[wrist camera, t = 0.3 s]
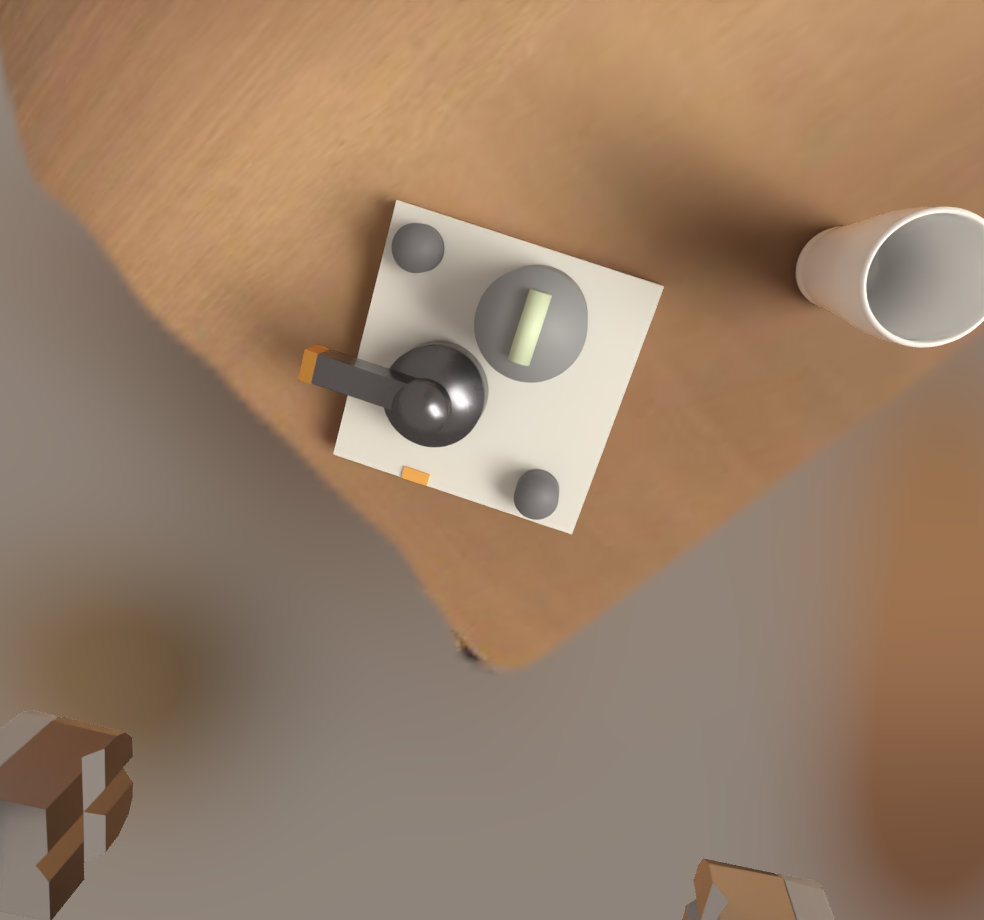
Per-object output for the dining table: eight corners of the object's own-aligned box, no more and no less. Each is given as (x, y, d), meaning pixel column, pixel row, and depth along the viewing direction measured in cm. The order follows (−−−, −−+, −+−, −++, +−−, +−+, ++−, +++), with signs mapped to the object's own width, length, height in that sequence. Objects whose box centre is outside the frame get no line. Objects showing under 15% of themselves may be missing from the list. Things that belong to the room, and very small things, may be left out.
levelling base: (403, 201, 52) (365, 193, 43) (661, 284, 51) (676, 294, 42) (341, 447, 58) (296, 484, 49) (572, 524, 57) (569, 576, 48)
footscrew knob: (500, 358, 52) (487, 376, 45) (472, 449, 54) (456, 478, 47) (340, 305, 52) (303, 315, 46) (318, 397, 54) (280, 419, 48)
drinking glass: (772, 312, 51) (843, 341, 37) (794, 209, 49) (878, 197, 35) (873, 324, 50) (986, 357, 36) (900, 220, 48) (1030, 212, 34)
